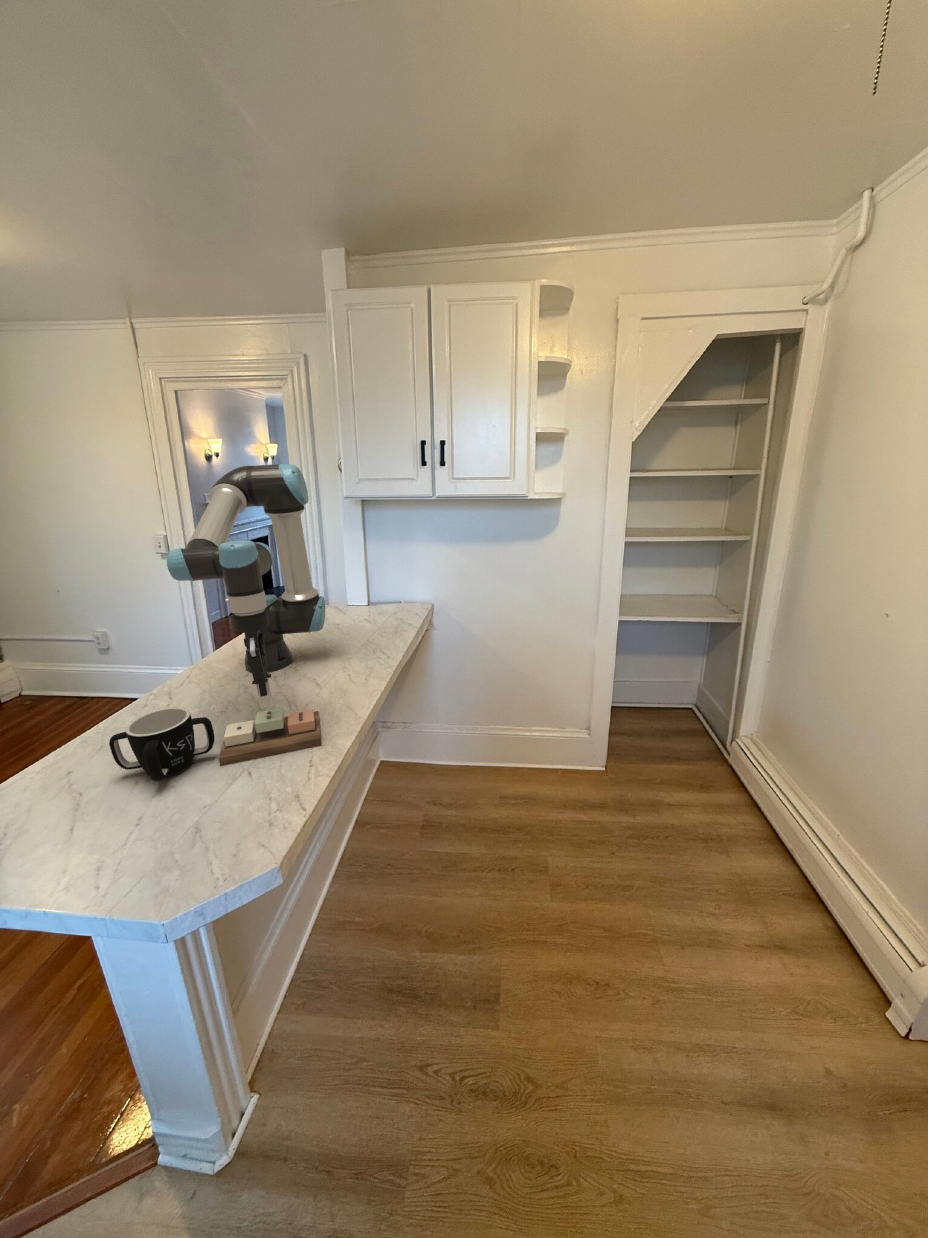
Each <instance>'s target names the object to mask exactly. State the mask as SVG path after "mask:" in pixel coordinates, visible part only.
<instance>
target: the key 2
mask: <svg viewBox="0 0 928 1238" xmlns="http://www.w3.org/2000/svg"><path fill="white" fill-rule="evenodd" d="M255 716H256V717H255V720H254V723H255V728H256V733H260V732H265V731H271V730H276V729H281V728H284V717H285V712H284V708H283V707H277V708H273V709H268V710H267V709H266V710H261V711H257V712H256V715H255Z"/></svg>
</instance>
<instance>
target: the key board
mask: <svg viewBox="0 0 928 1238" xmlns="http://www.w3.org/2000/svg"><path fill="white" fill-rule="evenodd" d="M314 717H315V729H314V730H309V731H304V732H299V733H293V734H289V730H288V716H284V728H281V729H276V730H271V731H265V732H260V733H256V730H255V736H254V741H252V742H247V743H242V744H237V745H232V746H225V741H224V740H223V742H222V744H221V745H222V746H221V748H220V753H219V757H218V761H219V766H220V767H222V766H227V765H233V764H237V763H242V762H246V761H252V760H256V759H262V758H267V757H271V756H276V755H281V754H282V755H283V754H286V753H290V752H295V751H301V750H305V749H311V748H314V747H320V746H322V736H321V735H322V734H321V724H320V714H319V711H318V710H317V711H316V710H315V711H314Z"/></svg>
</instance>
